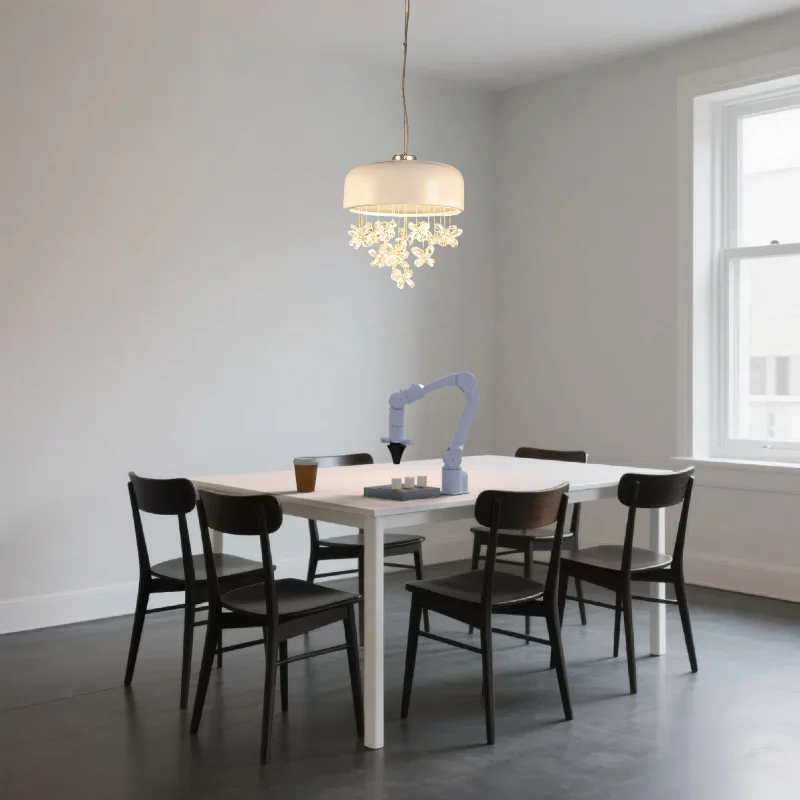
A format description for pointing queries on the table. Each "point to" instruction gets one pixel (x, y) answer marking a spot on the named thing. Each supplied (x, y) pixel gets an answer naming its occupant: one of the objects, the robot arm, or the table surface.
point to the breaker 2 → (421, 480)
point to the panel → (401, 492)
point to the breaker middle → (409, 482)
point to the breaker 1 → (396, 483)
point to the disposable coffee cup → (305, 473)
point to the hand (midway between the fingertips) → (396, 464)
